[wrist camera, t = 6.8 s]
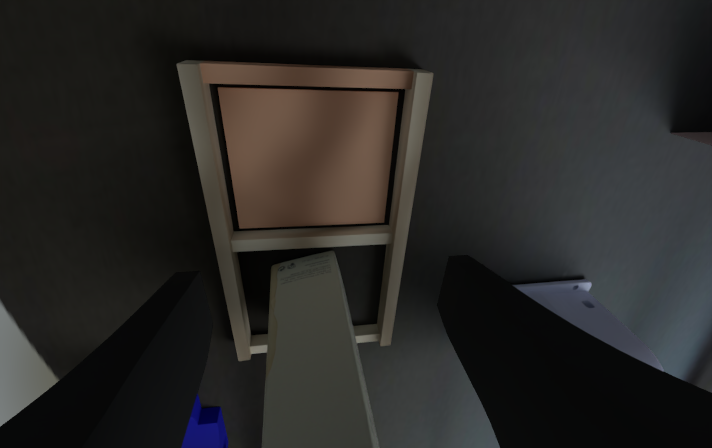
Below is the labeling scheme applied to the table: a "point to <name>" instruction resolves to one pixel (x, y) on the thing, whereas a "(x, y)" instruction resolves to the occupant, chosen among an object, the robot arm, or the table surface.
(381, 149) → the pink framed panel
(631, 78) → the table surface
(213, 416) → the cable clip
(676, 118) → the table surface
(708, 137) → the greeting card
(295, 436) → the skincare box
